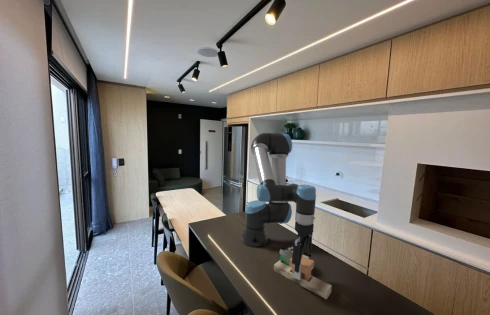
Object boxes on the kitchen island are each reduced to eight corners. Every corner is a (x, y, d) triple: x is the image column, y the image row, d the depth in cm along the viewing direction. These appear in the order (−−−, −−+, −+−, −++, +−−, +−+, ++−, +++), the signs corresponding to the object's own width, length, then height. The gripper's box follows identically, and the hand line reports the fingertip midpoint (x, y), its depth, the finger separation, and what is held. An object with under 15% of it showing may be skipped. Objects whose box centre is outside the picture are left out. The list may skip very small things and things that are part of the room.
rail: (273, 270, 93) (274, 264, 92) (279, 265, 96) (279, 259, 96) (326, 299, 77) (327, 292, 76) (331, 292, 80) (331, 285, 80)
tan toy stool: (288, 273, 86) (289, 259, 86) (296, 267, 91) (296, 253, 91) (306, 283, 81) (307, 267, 81) (313, 275, 86) (314, 261, 85)
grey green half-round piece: (287, 277, 89) (289, 255, 88) (278, 269, 94) (279, 249, 93) (306, 268, 96) (307, 248, 95) (296, 261, 101) (297, 242, 100)
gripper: (302, 232, 75) (298, 290, 76) (322, 218, 89) (318, 267, 91) (284, 226, 79) (281, 281, 81) (306, 214, 94) (303, 260, 96)
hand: (301, 274), depth 86 cm, fingers closed on tan toy stool, 7 cm apart
